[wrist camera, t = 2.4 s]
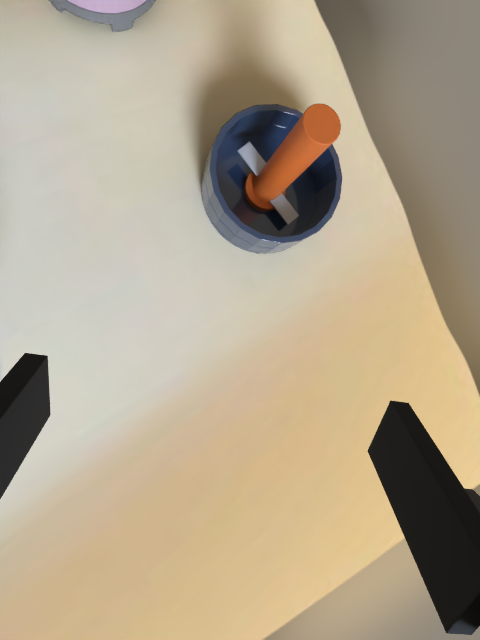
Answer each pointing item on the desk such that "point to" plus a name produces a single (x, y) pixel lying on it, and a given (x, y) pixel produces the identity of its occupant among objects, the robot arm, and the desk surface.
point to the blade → (289, 160)
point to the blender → (106, 11)
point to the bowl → (232, 171)
